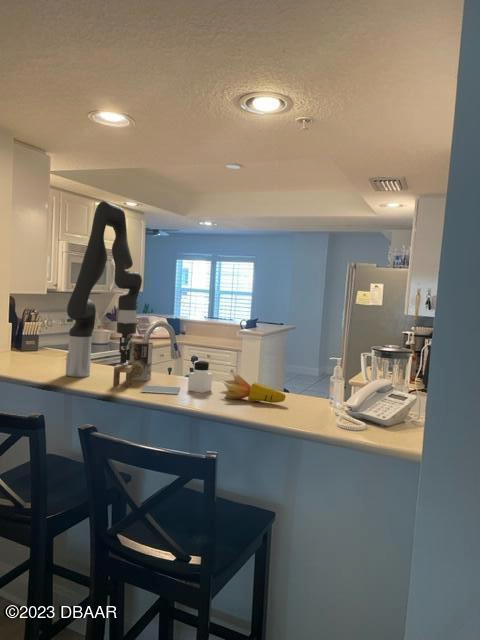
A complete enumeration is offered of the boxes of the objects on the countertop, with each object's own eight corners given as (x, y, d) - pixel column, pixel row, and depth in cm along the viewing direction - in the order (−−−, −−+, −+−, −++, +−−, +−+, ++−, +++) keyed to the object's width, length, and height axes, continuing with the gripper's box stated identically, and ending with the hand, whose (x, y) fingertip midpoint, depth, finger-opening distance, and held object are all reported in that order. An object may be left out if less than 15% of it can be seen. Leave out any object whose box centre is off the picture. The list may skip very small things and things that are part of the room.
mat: (140, 392, 173) (140, 391, 172) (145, 386, 184) (145, 384, 184) (177, 394, 173) (177, 393, 173) (180, 388, 185) (180, 387, 185)
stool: (113, 386, 179) (114, 366, 178) (116, 383, 185) (117, 364, 184) (128, 387, 179) (129, 367, 179) (131, 384, 185) (132, 365, 185)
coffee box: (151, 378, 201) (153, 342, 200) (146, 381, 195) (149, 344, 194) (131, 376, 202) (133, 340, 201) (126, 379, 195) (128, 342, 195)
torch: (281, 416, 167) (218, 398, 174) (286, 402, 174) (225, 386, 180) (283, 399, 163) (218, 381, 170) (288, 385, 169) (226, 369, 176)
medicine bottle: (211, 390, 186) (213, 361, 185) (202, 393, 179) (204, 363, 178) (196, 387, 189) (198, 359, 188) (187, 390, 182) (189, 361, 181)
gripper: (120, 320, 188) (119, 358, 189) (113, 322, 174) (112, 364, 174) (138, 320, 188) (137, 359, 189) (133, 322, 174) (131, 364, 175)
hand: (125, 361), depth 182 cm, fingers open, 8 cm apart
